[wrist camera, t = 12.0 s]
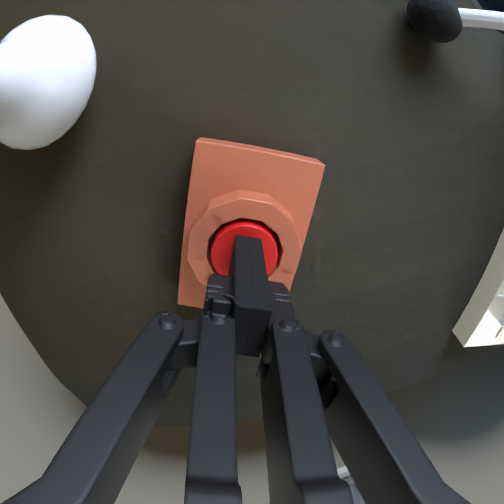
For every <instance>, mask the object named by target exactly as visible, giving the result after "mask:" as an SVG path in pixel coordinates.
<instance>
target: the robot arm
mask: <svg viewBox="0 0 504 504" xmlns="http://www.w3.org/2000/svg"><path fill="white" fill-rule="evenodd" d="M289 296H290V295H289V291H288V288H287V287H286V286H285V285H284V284H283V283H282V282H274V281H268V277H267V270H266V264H265V258H264V252H263V246H262V240H261V238H255V237H249V236H242V235H235V240H234V246H233V251H232V256H231V262H230V267H229V273H228V276H227V275H220V274H212V275H211V276H210V277H209V278H208V282H207V289H206V295H205V301H204V308H203V313H202V314H201V315H200V316H199V317H197V318H195V319H191V320H183V319H182V318H181V317H180V316H179V315H177V314H175V313H172V312H160V313H157V314H155V315H154V316H153V317H152V318H151V319H150V320H149V322H148V323H147V324H146V326H145V327H144V328H143V330H142V331H141V332H140V334H139V335H138V337H137V338H136V339H135V341H134V342H133V343H132V345H131V346H130V347H129V349H128V350H127V352H126V353H125V354H124V356H123V357H122V358H121V360H120V361H119V363H118V364H117V365H116V367H115V368H114V370H113V371H112V372H111V374H110V375H109V377H108V378H107V379H106V381H105V382H104V384H103V385H102V387H101V388H100V389H99V391H98V392H97V394H96V395H95V397H94V398H93V400H92V401H91V402H90V404H89V405H88V407H87V409H86V410H85V411H84V413H83V414H82V416H81V417H80V419H79V420H78V422H77V423H76V424H75V426H74V428H73V429H72V430H71V432H70V433H69V435H68V436H67V438H66V440H65V441H64V443H63V444H62V446H61V447H60V449H59V450H58V452H57V453H56V455H55V456H54V458H53V460H52V461H51V463H50V464H49V466H48V468H47V469H46V471H45V472H44V474H43V475H42V477H41V478H39V479H38V480H37V481H35V482H33V483H32V484H30V485H29V486H27V487H26V488H24V489H23V490H21V491H20V492H18V493H17V494H15V495H14V496H12V497H10V498H9V499H7V500H6V501H4V502H3V503H1V504H114V502H115V501H116V499H117V497H118V495H119V493H120V490H121V488H122V486H123V484H124V482H125V480H126V478H127V476H128V474H129V472H130V470H131V468H132V466H133V464H134V462H135V460H136V458H137V456H138V454H139V452H140V450H141V448H142V446H143V444H144V442H145V440H146V438H147V436H148V434H149V432H150V430H151V428H152V426H153V424H154V422H155V421H156V419H157V417H158V415H159V413H160V411H161V409H162V407H163V405H164V403H165V401H166V399H167V397H168V395H169V393H170V391H171V389H172V387H173V385H174V383H175V381H176V379H177V377H178V375H179V373H180V371H181V369H183V368H192V367H196V373H195V382H194V391H193V401H192V411H191V421H190V433H189V444H188V456H187V470H186V482H185V497H184V504H242V492H241V488H240V486H239V484H238V474H237V433H236V432H237V431H236V359H235V355H244V356H254V357H259V354H260V351H261V354H262V357H261V361H260V364H259V367H258V370H257V373H256V377H258V376H259V373H260V381H261V394H262V407H263V420H264V432H265V445H266V457H267V470H268V483H269V495H270V504H471V503H470V502H468V501H467V500H466V499H464V498H463V497H462V496H460V495H459V494H458V493H456V491H454V490H453V489H452V488H450V487H449V486H448V485H447V484H445V483H444V482H443V480H442V478H441V477H440V475H439V474H438V472H437V471H436V469H435V467H434V466H433V464H432V463H431V461H430V460H429V458H428V456H427V455H426V453H425V452H424V450H423V449H422V448H421V446H420V444H419V443H418V441H417V439H416V438H415V436H414V435H413V433H412V432H411V430H410V429H409V427H408V426H407V424H406V423H405V421H404V420H403V418H402V417H401V415H400V414H399V412H398V411H397V409H396V408H395V406H394V405H393V403H392V402H391V400H390V399H389V397H388V396H387V395H386V393H385V392H384V390H383V389H382V387H381V386H380V384H379V383H378V381H377V380H376V378H375V377H374V375H373V374H372V373H371V371H370V370H369V368H368V367H367V365H366V364H365V362H364V361H363V359H362V358H361V357H360V355H359V354H358V352H357V351H356V349H355V348H354V347H353V345H352V344H351V342H350V341H349V339H348V338H347V337H346V336H345V335H343V334H342V333H340V332H337V331H334V330H328V331H324V332H323V333H322V334H321V337H320V336H317V335H314V334H311V333H308V332H306V331H304V329H303V326H302V324H301V323H300V322H299V321H298V320H296V319H295V315H294V311H293V307H292V303H291V299H290V297H289ZM329 435H330V436H331V438H332V440H333V442H334V444H335V446H336V448H337V450H338V452H339V454H340V456H341V458H342V460H343V462H344V464H345V466H346V468H347V470H348V471H349V473H350V475H349V476H346V477H344V478H341V479H340V477H339V476H338V473H337V468H336V464H335V459H334V455H333V450H332V445H331V441H330V436H329Z"/></svg>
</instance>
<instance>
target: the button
mask: <svg viewBox="0 0 504 504" xmlns="http://www.w3.org/2000/svg"><path fill="white" fill-rule="evenodd" d="M235 235H242V236H249V237H255V238H261V240H262V246H263V252H264V258H265V264H266V270H267V275H269V273H270V272H271V271H272V270H273V268H274V267H275V265H276V262H277V258H278V251H277V246H276V242H275V238H274V234H273V232H272V230H271V228H269V227H268V226H267V225H266V224H265V223H263V222H262V221H258V220H252V219H246V218H239V219H236V220H233V221H230V222H227V223H224V224H221V225H220V227H219V228H218V229H217V230H216V232H215V234H214V238H213V243H212V249H211V260H212V263H213V266H214V268H215V269H216V271H217V272H218V273H219V274H220V275H227V276H228V273H229V267H230V262H231V256H232V251H233V246H234V240H235Z"/></svg>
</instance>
